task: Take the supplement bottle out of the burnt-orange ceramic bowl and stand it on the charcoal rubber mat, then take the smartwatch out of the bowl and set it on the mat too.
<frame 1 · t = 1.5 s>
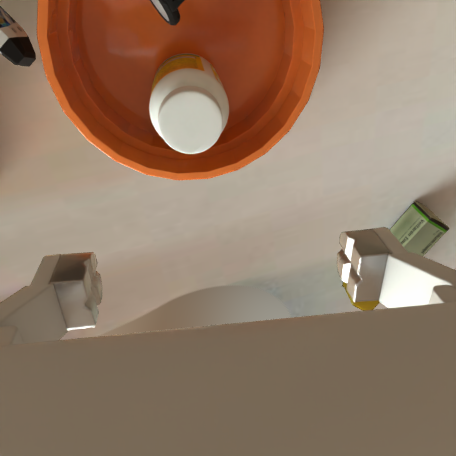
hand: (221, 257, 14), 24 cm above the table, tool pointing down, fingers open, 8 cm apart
bowl: (183, 39, 33), on the table
supplement bottle: (186, 86, 34), resting on bowl
medication box: (381, 245, 46), on the table
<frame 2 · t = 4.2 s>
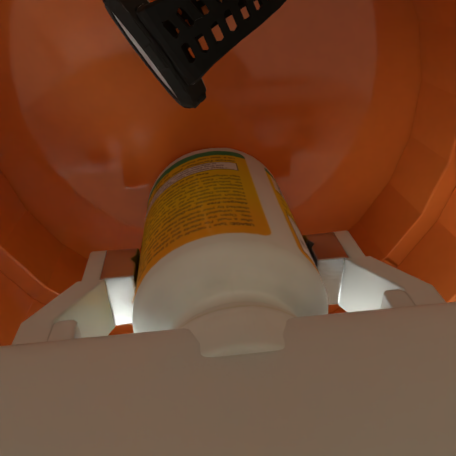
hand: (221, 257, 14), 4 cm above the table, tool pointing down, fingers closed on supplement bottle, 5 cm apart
bowl: (208, 117, 16), on the table
smartwatch: (203, 13, 14), resting on bowl
supplement bottle: (213, 203, 17), resting on bowl, touching gripper
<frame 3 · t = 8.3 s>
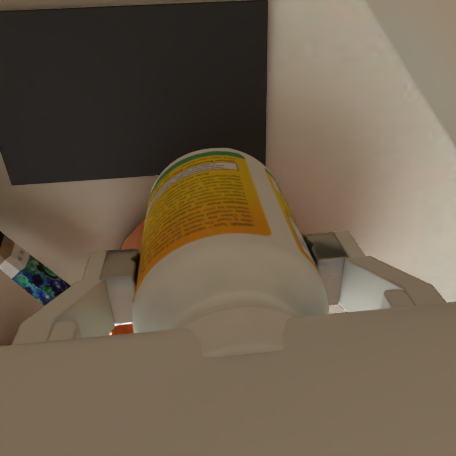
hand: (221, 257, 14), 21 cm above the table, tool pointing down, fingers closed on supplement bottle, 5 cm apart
mat: (130, 98, 31), on the table
bowl: (211, 280, 40), on the table
supplement bottle: (213, 203, 17), point 17 cm above the table, touching gripper
when the fingers open (4 cm above the table, at t = 12.5 s): supplement bottle stays where it is, resting on mat.
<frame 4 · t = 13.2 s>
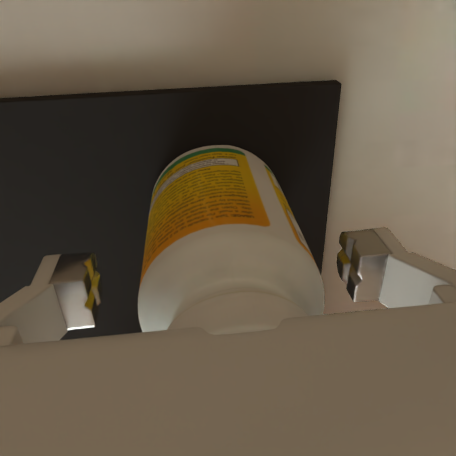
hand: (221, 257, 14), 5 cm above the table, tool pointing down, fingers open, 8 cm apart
mat: (102, 231, 19), on the table
supplement bottle: (214, 199, 18), resting on mat
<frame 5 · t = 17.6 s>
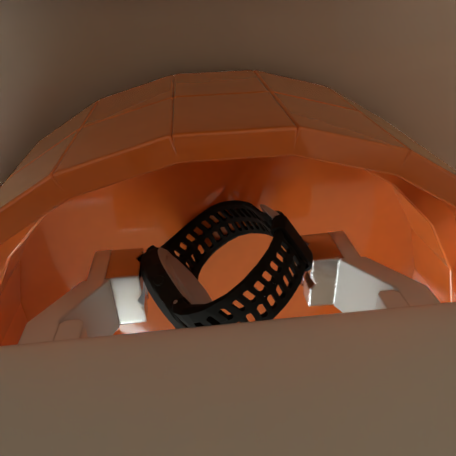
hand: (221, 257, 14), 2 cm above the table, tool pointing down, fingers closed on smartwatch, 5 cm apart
bowl: (223, 297, 18), on the table
smartwatch: (221, 228, 16), resting on bowl, touching gripper
when the fingers open (2 cm above the table, at t = 25.2 s): smartwatch stays where it is, resting on mat.
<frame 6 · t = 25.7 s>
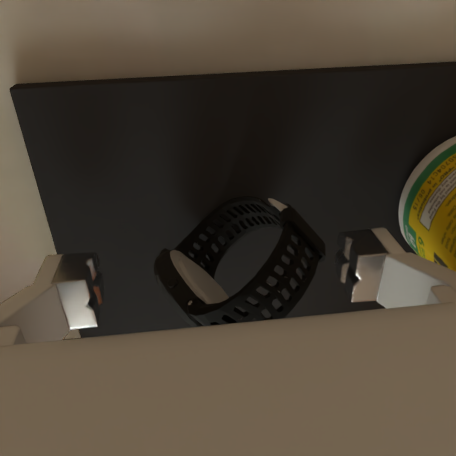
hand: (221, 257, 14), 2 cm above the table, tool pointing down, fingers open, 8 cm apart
mat: (321, 228, 17), on the table
smartwatch: (233, 225, 16), resting on mat
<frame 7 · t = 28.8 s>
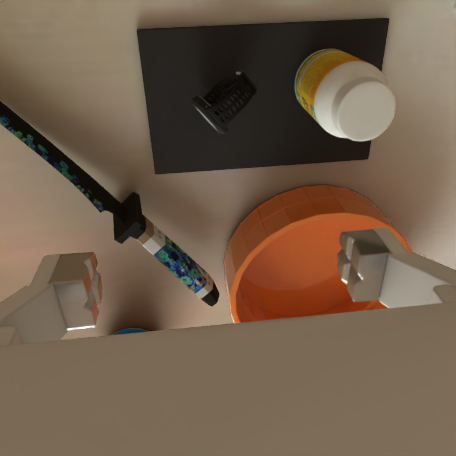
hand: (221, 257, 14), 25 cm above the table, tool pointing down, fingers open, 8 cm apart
mat: (263, 99, 37), on the table
knife: (102, 180, 39), on the table
bowl: (306, 259, 46), on the table
smartwatch: (223, 95, 36), resting on mat
supplement bottle: (323, 80, 36), resting on mat
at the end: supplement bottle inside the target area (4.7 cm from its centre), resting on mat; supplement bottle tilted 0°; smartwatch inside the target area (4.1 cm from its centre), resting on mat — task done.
